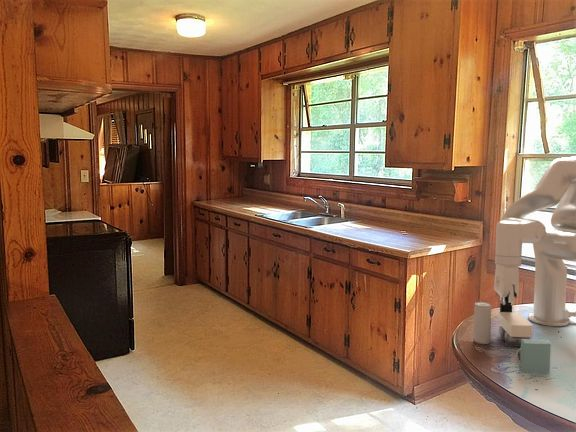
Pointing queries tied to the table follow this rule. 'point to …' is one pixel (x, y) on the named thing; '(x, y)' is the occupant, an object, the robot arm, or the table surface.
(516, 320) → the slab
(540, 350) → the block
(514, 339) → the cylinder
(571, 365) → the table surface
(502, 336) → the cylinder
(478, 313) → the beverage can
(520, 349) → the roller
